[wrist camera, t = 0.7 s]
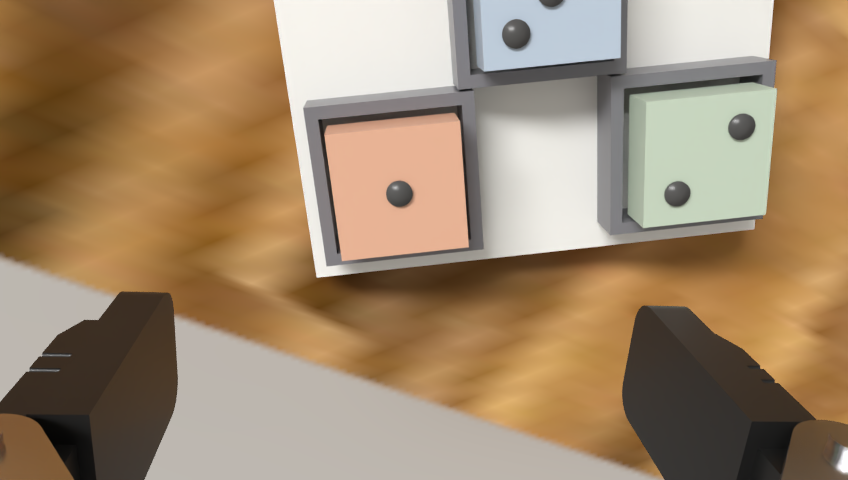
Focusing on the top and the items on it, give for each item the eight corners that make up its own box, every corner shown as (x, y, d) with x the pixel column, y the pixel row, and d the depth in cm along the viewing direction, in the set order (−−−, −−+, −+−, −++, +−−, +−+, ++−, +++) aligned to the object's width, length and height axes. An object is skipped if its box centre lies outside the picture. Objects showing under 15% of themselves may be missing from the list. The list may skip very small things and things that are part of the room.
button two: (752, 82, 28) (779, 89, 26) (743, 201, 30) (767, 215, 28) (629, 94, 28) (647, 102, 26) (627, 213, 29) (644, 229, 28)
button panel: (758, -132, 28) (813, -148, 25) (733, 215, 34) (776, 243, 30) (266, -88, 28) (251, -99, 24) (319, 260, 33) (313, 294, 29)
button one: (454, 112, 27) (460, 121, 26) (463, 232, 29) (469, 248, 27) (326, 125, 27) (324, 135, 25) (343, 244, 29) (341, 262, 27)
